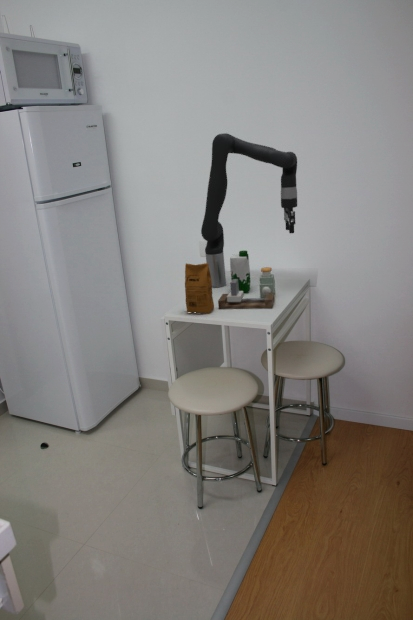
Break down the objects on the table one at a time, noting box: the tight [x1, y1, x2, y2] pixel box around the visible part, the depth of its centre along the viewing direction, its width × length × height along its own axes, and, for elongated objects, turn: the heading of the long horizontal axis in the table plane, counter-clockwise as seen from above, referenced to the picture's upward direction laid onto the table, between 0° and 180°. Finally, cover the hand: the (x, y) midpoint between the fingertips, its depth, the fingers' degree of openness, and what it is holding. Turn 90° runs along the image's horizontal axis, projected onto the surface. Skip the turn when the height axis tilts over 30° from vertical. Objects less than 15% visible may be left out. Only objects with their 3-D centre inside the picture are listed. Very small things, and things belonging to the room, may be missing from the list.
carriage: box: [227, 279, 245, 302], centre depth 225 cm, size 6×8×8 cm
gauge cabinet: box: [259, 273, 276, 298], centre depth 233 cm, size 6×8×10 cm
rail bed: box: [217, 293, 276, 310], centre depth 225 cm, size 24×10×4 cm, turn 77°
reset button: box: [260, 266, 273, 277], centre depth 231 cm, size 5×5×4 cm
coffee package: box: [184, 262, 215, 314], centre depth 221 cm, size 10×12×22 cm
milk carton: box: [229, 250, 251, 294], centre depth 243 cm, size 9×9×20 cm
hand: (289, 231), depth 238 cm, fingers open, 8 cm apart
